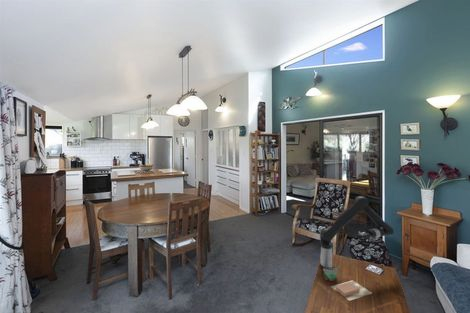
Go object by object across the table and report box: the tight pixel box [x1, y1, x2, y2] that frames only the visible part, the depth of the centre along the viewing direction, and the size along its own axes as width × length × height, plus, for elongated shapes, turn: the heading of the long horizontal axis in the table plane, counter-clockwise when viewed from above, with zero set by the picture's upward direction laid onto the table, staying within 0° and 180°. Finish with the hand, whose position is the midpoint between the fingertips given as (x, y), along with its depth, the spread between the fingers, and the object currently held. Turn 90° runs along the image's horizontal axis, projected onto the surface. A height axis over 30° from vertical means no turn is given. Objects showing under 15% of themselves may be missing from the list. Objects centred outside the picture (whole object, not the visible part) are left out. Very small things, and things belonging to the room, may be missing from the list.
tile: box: [335, 282, 360, 297], centre depth 179 cm, size 9×3×14 cm
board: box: [330, 279, 373, 302], centre depth 180 cm, size 18×22×1 cm
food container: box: [322, 265, 339, 282], centre depth 193 cm, size 12×6×10 cm, turn 101°
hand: (357, 237), depth 196 cm, fingers closed
